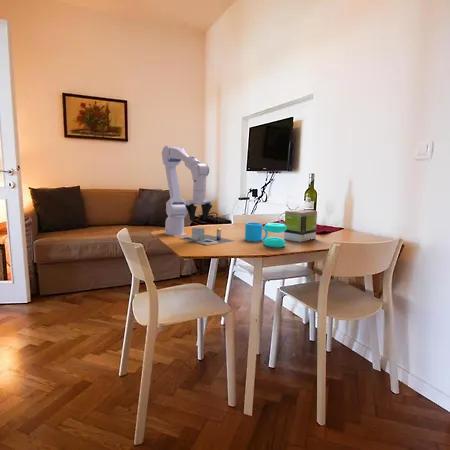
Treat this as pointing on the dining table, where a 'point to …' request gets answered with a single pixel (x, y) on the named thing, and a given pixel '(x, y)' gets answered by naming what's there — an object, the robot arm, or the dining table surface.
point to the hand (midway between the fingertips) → (198, 220)
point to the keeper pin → (218, 234)
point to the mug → (254, 232)
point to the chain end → (200, 236)
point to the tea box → (300, 225)
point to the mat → (209, 239)
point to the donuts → (275, 240)
